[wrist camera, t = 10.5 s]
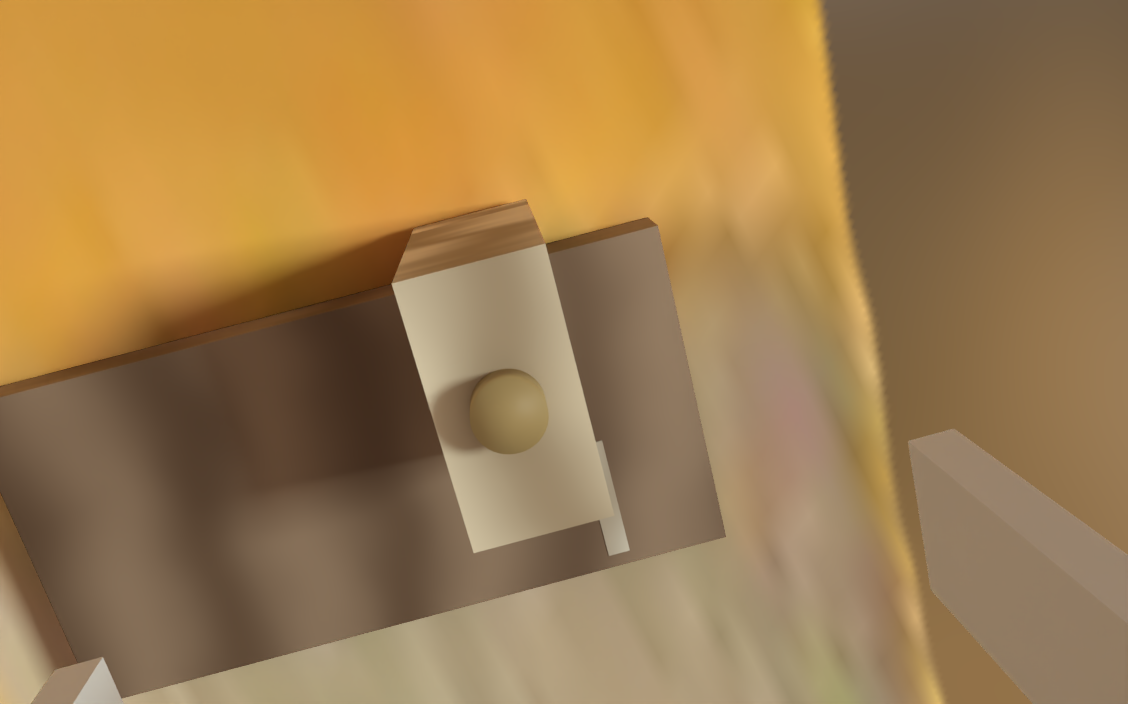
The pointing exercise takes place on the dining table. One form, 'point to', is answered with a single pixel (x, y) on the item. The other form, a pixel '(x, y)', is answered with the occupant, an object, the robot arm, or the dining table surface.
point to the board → (328, 475)
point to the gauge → (500, 376)
